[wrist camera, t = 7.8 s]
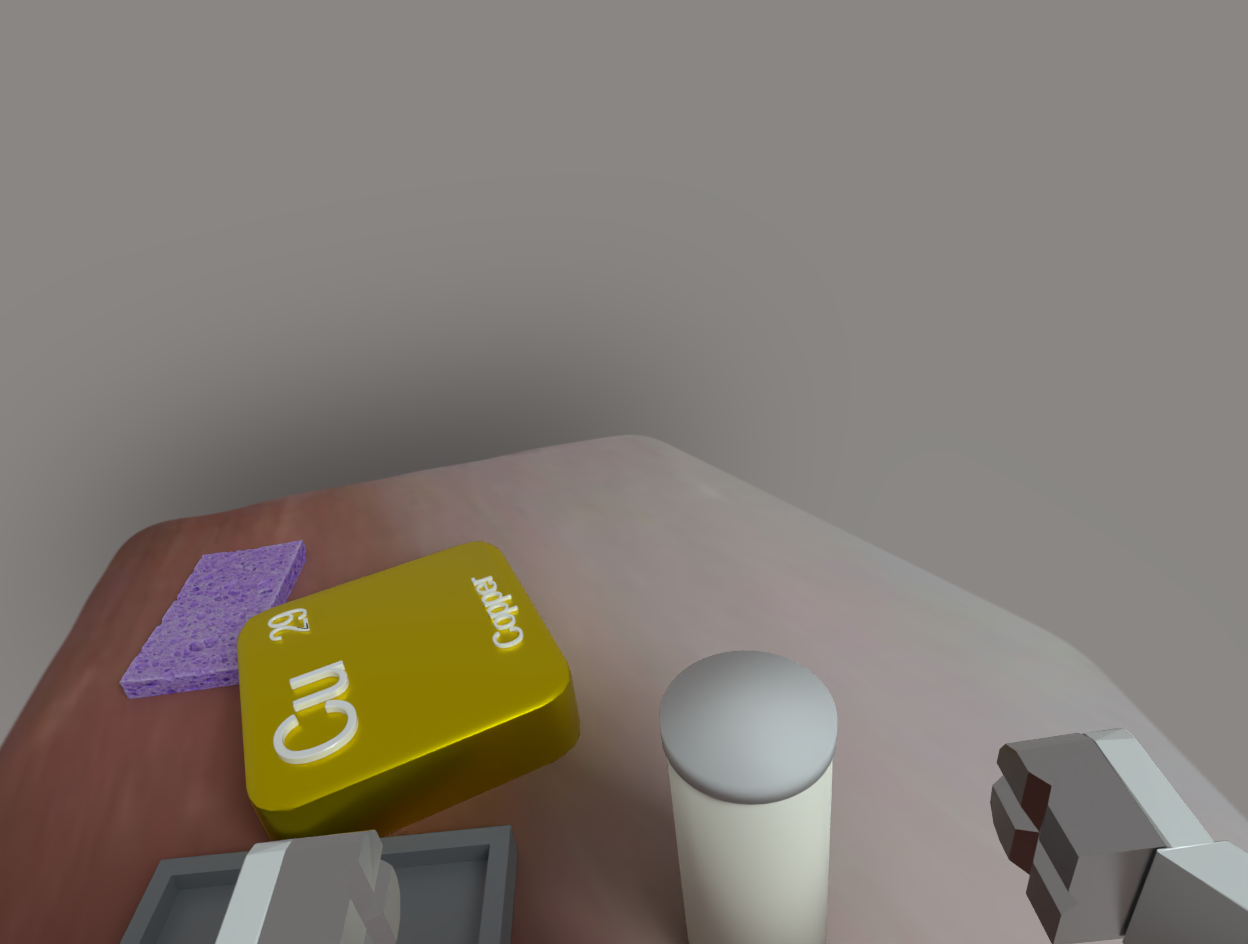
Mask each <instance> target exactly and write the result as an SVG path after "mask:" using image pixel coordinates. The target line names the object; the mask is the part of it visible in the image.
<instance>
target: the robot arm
mask: <svg viewBox="0 0 1248 944" xmlns="http://www.w3.org/2000/svg"><path fill="white" fill-rule="evenodd" d="M997 764H998V766H999V768H1000V769H1001V771H1002V773H1003V776H1002V777H1001V778H1000V779H999V780H998V781H997V782H995V783H994V784H993V786H992V793H991V801H990V804H991V810H992V817H993V823H994V826H995V829H996V832H997V834H998V837H999V840H1000V842H1001V844H1002V846H1003V849H1004V851H1005V853H1006V855H1007V857H1008V859H1009V860H1010V861H1011V862H1013V863H1014V864H1016V865H1017V866H1018V867H1020V868H1021V869H1022V870H1024V871H1025V872H1027V873H1028V874H1029V880H1028V886H1027V891H1026V894H1027V896H1028V898H1029V900H1030V902H1031V904H1032V906H1033V908H1034V910H1035V912H1036V914H1037V916H1038V918H1039V920H1040V922H1041V924H1042V926H1043V927H1044V929H1045V931H1046V933H1047V935H1048V937H1049V939H1050V941H1051V943H1052V944H1074V943H1083V942H1093V941H1102V940H1112V939H1121V938H1124V939H1123V943H1124V944H1248V853H1247V852H1245V851H1243V850H1242V849H1240V848H1238V847H1237V846H1235V845H1233V844H1232V843H1230V842H1228V841H1227V840H1226V841H1215V842H1214V841H1213V839H1212V838H1211V837H1210V835H1209V834H1208V833H1207V831H1206V830H1205V829H1204V827H1203V826H1202V825H1201V823H1200V822H1199V821H1198V820H1197V818H1196V817H1195V816H1194V814H1193V813H1192V812H1191V810H1190V809H1189V808H1188V806H1187V805H1186V804H1185V802H1184V801H1183V800H1182V798H1181V797H1180V796H1179V795H1178V793H1177V792H1176V791H1175V789H1174V788H1173V787H1172V785H1171V784H1170V783H1169V781H1168V780H1167V779H1166V777H1165V776H1164V775H1163V774H1162V772H1161V771H1160V770H1159V768H1158V767H1157V766H1156V764H1155V763H1154V762H1153V760H1152V759H1151V758H1150V756H1149V755H1148V754H1147V753H1146V751H1145V750H1144V749H1143V747H1142V746H1141V745H1140V743H1139V742H1138V741H1137V739H1136V738H1135V737H1134V735H1133V734H1131V733H1130V732H1128V731H1127V730H1125V729H1124V728H1115V729H1109V730H1103V731H1096V732H1090V733H1084V734H1080V733H1074V734H1067V735H1060V736H1054V737H1047V738H1040V739H1034V740H1027V741H1020V742H1014V743H1007V744H1005V745H1004V746H1003V747H1002V748H1001V749H1000V750H999V755H998V759H997ZM382 848H383V844H382V842H381V840H380V838H379V836H378V834H377V832H376V830H367V831H358V832H350V833H341V834H332V835H324V836H315V837H306V838H298V839H297V838H295V839H287V840H280V841H272V842H265V843H257V844H255V845H254V846H253V847H252V849H251V850H250V852H249V853H248V854H247V856H246V857H245V859H244V862H243V865H242V868H241V870H240V873H239V876H238V879H237V882H236V885H235V887H234V890H233V893H232V896H231V899H230V901H229V904H228V907H227V910H226V913H225V916H224V918H223V921H222V924H221V927H220V930H219V933H218V935H217V938H216V941H215V944H395V943H396V942H397V937H398V930H399V923H400V890H399V884H398V879H397V876H396V873H395V871H394V869H393V866H392V865H390V864H388V863H387V862H385V861H383V860H381V859H380V858H381V853H382Z"/></svg>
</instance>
